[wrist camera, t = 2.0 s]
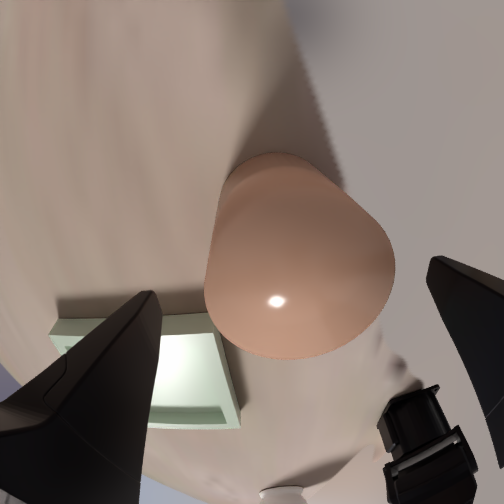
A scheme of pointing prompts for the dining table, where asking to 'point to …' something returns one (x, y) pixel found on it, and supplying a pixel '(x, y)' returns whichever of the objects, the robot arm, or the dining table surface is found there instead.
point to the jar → (283, 495)
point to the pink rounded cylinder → (293, 261)
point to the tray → (178, 372)
